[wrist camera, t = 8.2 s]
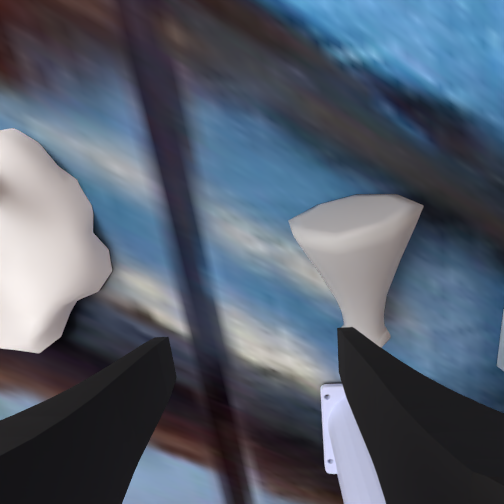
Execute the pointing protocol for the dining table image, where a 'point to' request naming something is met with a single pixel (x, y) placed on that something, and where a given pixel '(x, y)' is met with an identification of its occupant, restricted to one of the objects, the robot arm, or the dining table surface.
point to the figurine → (42, 245)
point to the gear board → (501, 348)
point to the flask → (358, 252)
